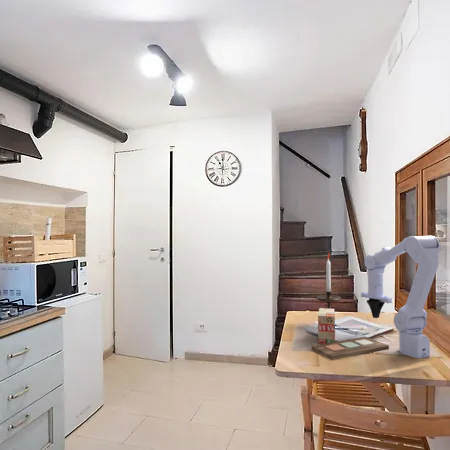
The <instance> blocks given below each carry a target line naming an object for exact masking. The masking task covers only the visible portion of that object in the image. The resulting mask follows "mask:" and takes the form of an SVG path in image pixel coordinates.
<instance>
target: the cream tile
mask: <svg viewBox="0 0 450 450" xmlns="http://www.w3.org/2000/svg"><path fill="white" fill-rule="evenodd" d="M355 343H357V344H360V345H362V346H369V345H374V343H373V342H371V341H368V340H366V339H362V340H357V341H355Z"/></svg>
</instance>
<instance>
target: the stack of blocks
mask: <svg viewBox="0 0 450 450" xmlns="http://www.w3.org/2000/svg"><path fill="white" fill-rule="evenodd" d="M335 315H336V314H335V308H330V309H327V308H323V307H320V308H318V314H317V333H318V336H317V338H318V339H317V342H318V343H317V345H319V344H324V343H330V342H336V331H335V325H336V321H335V320H336V319H335V318H336V317H335Z"/></svg>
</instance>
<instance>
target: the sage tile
mask: <svg viewBox="0 0 450 450" xmlns="http://www.w3.org/2000/svg"><path fill="white" fill-rule="evenodd" d="M340 345H341V346H343V347H346V348H348V349H353V348H358V347H360V345H357V344H355V343H353V342H346V343H340Z"/></svg>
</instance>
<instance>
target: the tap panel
mask: <svg viewBox="0 0 450 450" xmlns="http://www.w3.org/2000/svg"><path fill="white" fill-rule="evenodd" d="M362 339H366V340H368V341H371V342H373V343H374V345H369V346H362V345H360V344H357V343H355V341H357V340H362ZM346 342H353V343H355V344H357V345H360V347H358V348H353V349H348V348H346V347H343V346H341V345H340V343H346ZM335 344H336V345H339V346H341V347H343V348H345V350H342V351H337V352H333V351H331V350H328V349H326V348H325V346H329V345H335ZM389 349H390V346H389V345H388V344H387V343H384V342H381V341H378V340H375V339H373V338H370V337H367V336H359V337H354V338H348V339H343V340H338V341H337V340H335V342H330V343H324V344H314V345H311V350H312V351H314V352H317V353H318V354H320V355H322V356H324V357H326V358H328V359H330V360H332V361H333V360H334V361H335V360H339V359H344V358H350V357H354V356H359V355H364V354H369V353H374V352H380V351H385V350H389Z"/></svg>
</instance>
